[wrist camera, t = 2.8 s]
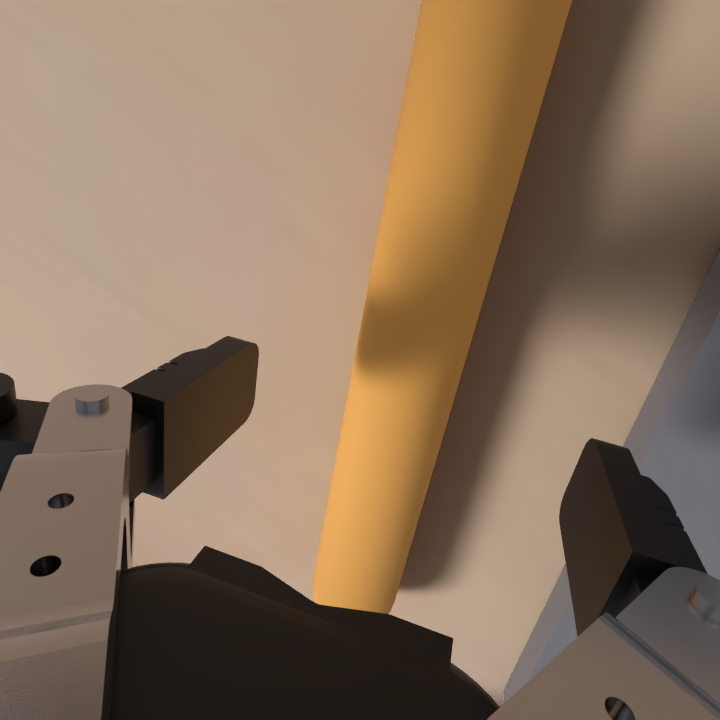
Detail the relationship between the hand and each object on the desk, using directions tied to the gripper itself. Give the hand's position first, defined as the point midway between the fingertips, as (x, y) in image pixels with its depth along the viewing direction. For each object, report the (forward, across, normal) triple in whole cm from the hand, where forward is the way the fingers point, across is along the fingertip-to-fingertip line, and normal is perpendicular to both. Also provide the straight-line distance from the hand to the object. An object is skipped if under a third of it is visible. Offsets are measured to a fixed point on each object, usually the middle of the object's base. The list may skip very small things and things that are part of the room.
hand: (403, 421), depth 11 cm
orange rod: (+5, 0, 0) cm, 5 cm away
